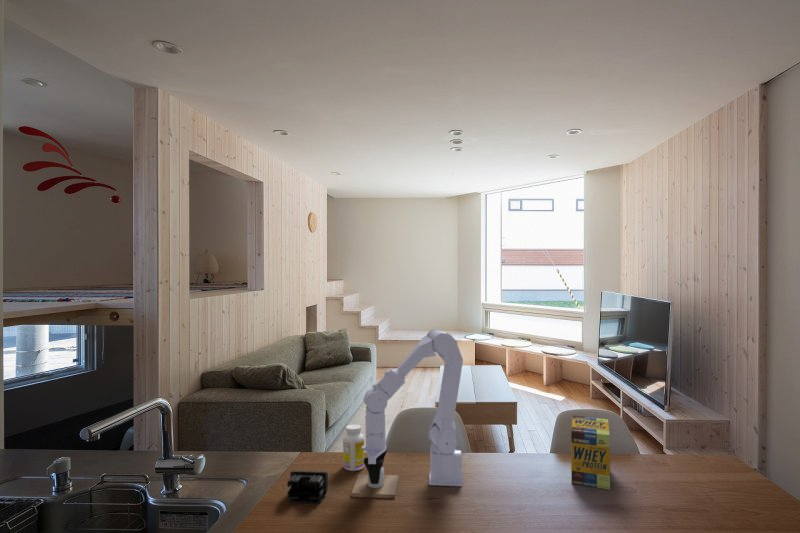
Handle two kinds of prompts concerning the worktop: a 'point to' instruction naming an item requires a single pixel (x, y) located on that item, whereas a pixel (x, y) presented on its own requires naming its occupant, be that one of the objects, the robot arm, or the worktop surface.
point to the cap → (381, 480)
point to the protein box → (590, 452)
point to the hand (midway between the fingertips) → (376, 479)
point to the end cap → (307, 487)
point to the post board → (381, 492)
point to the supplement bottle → (353, 448)
